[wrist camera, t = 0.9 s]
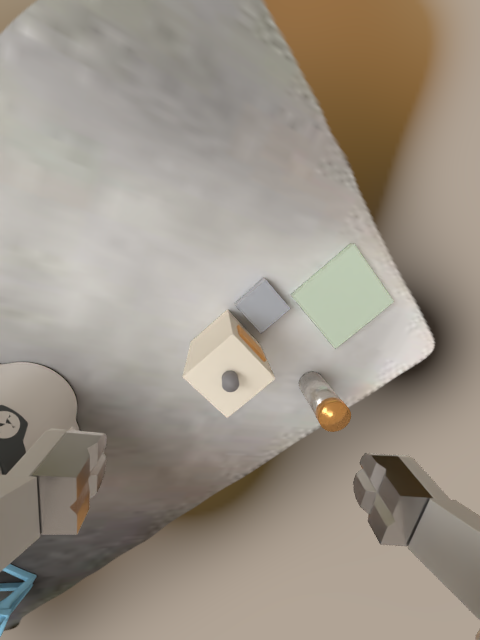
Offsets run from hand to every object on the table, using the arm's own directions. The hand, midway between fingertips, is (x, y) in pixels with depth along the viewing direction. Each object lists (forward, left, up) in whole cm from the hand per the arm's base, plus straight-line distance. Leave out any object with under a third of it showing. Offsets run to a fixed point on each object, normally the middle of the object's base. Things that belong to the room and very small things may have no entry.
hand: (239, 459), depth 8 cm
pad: (+14, -15, -34) cm, 40 cm away
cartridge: (+1, -24, -34) cm, 42 cm away
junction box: (-5, -8, -34) cm, 36 cm away
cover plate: (+3, -7, -35) cm, 36 cm away
